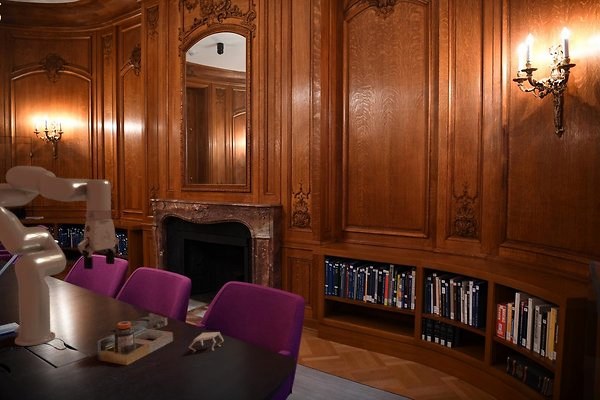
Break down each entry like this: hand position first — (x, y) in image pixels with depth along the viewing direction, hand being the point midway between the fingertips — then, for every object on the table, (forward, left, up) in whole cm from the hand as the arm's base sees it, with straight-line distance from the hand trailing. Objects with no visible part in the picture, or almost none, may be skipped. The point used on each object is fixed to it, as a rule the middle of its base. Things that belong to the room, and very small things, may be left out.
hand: (99, 266), depth 156 cm
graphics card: (-3, +24, -29) cm, 38 cm away
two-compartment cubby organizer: (+13, +4, -28) cm, 31 cm away
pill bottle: (+13, -3, -28) cm, 31 cm away
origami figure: (+33, +12, -29) cm, 46 cm away
